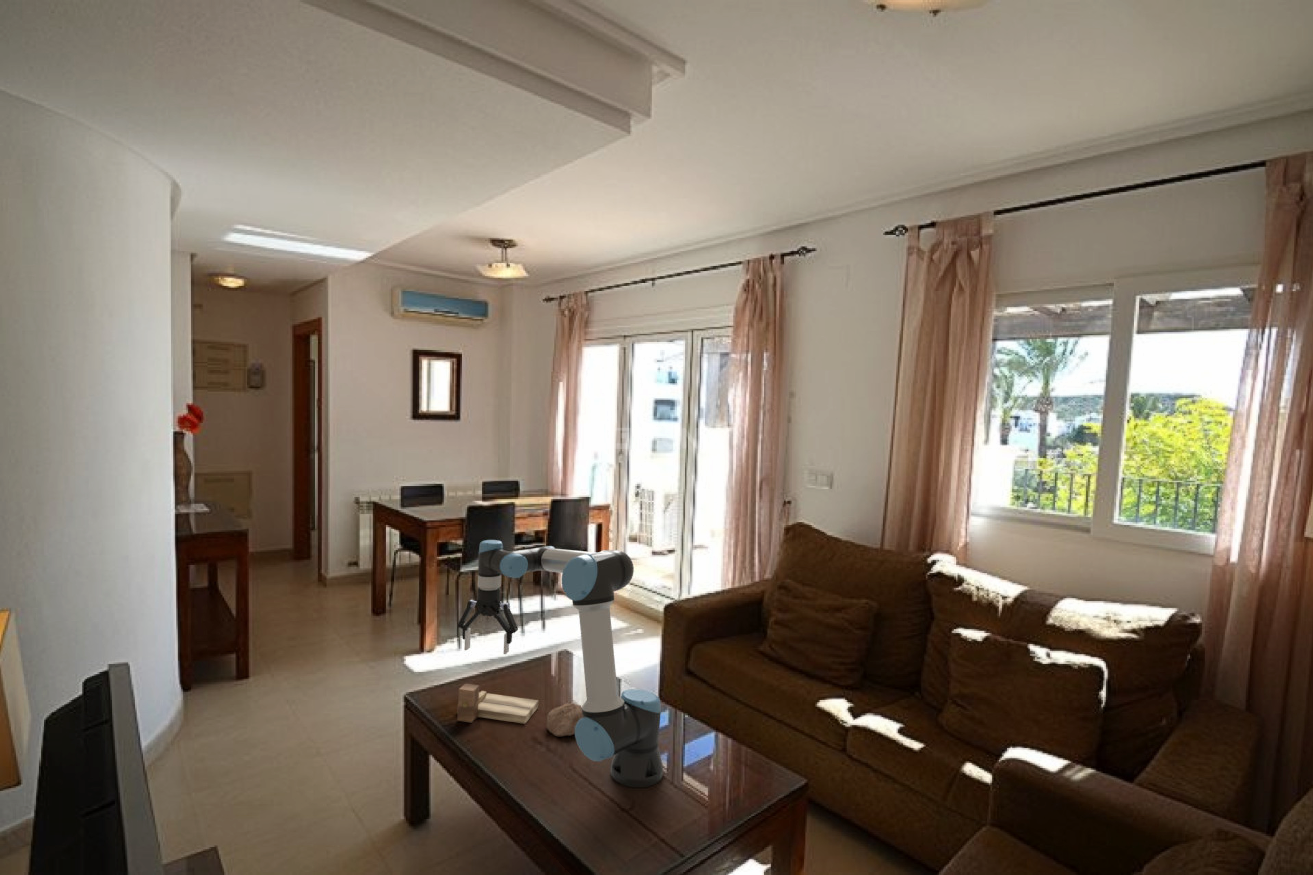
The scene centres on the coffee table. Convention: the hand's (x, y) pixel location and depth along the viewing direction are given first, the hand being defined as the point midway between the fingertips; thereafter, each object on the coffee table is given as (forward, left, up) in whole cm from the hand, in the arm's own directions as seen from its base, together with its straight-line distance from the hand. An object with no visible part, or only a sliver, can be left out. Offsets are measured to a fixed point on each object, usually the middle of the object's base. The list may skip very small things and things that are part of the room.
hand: (486, 650), depth 209 cm
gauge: (+1, +4, -22) cm, 22 cm away
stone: (-2, -29, -22) cm, 37 cm away
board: (+5, -3, -22) cm, 23 cm away
